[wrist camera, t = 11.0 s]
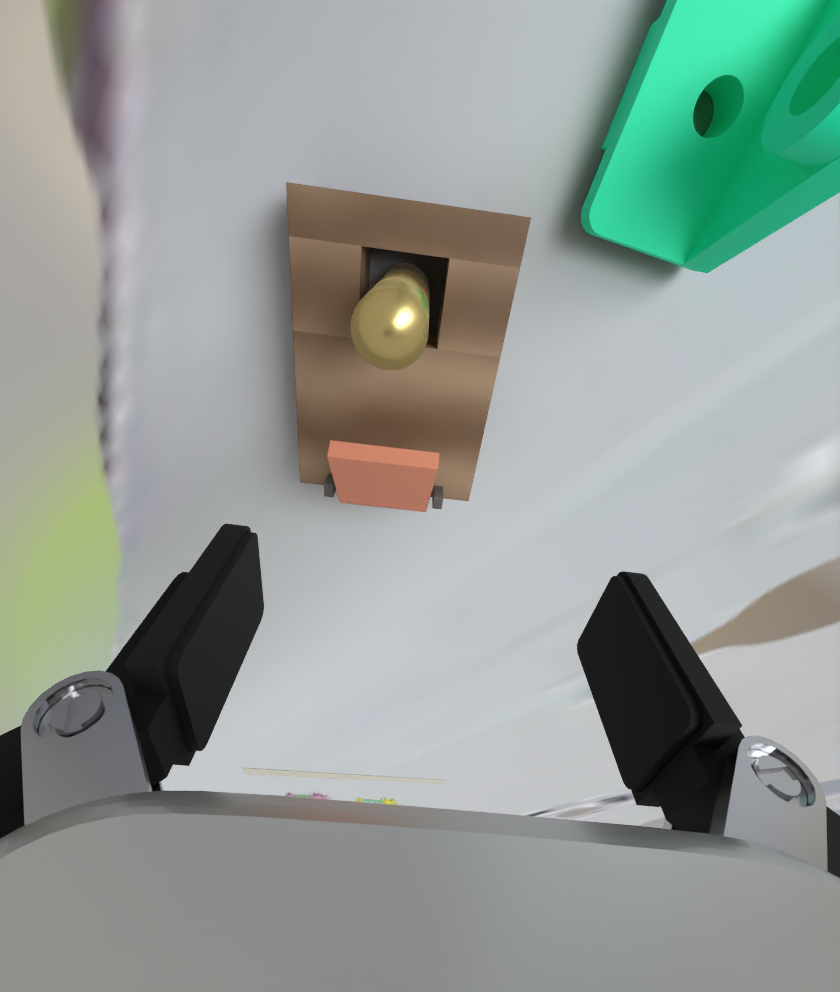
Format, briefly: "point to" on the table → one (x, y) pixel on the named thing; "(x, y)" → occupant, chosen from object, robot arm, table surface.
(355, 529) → the table surface
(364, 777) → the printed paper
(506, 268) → the hitch block
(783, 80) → the camera mount
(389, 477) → the orange flat plate
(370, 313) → the brass pin
